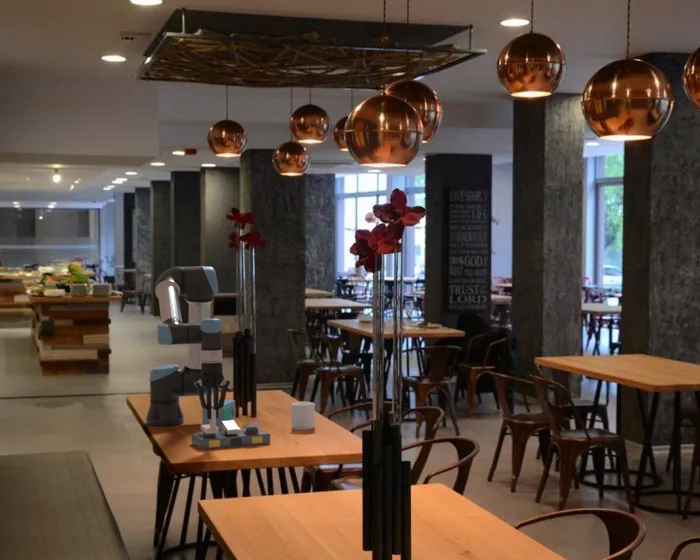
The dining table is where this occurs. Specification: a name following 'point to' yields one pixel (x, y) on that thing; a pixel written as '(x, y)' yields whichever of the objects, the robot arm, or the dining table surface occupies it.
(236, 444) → the console
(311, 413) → the cup
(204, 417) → the radio
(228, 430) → the rocker
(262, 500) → the dining table surface
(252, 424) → the rocker
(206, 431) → the rocker
